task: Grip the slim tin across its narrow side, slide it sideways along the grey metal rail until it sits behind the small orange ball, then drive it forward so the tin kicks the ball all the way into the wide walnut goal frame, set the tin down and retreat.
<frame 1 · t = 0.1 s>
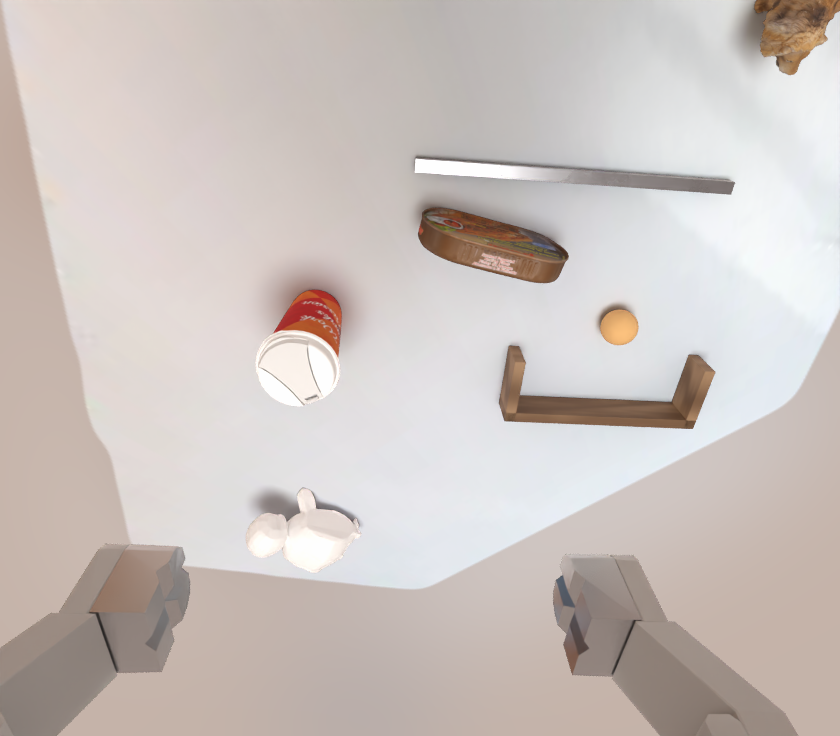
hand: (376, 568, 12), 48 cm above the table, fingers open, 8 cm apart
white animal figurine: (307, 512, 75), on the table
ball: (619, 327, 60), point 2 cm above the table
goal: (596, 379, 66), on the table
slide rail: (573, 175, 54), on the table
paper cup: (316, 311, 60), on the table
tin: (486, 233, 57), on the table
lion figurine: (798, 4, 47), on the table
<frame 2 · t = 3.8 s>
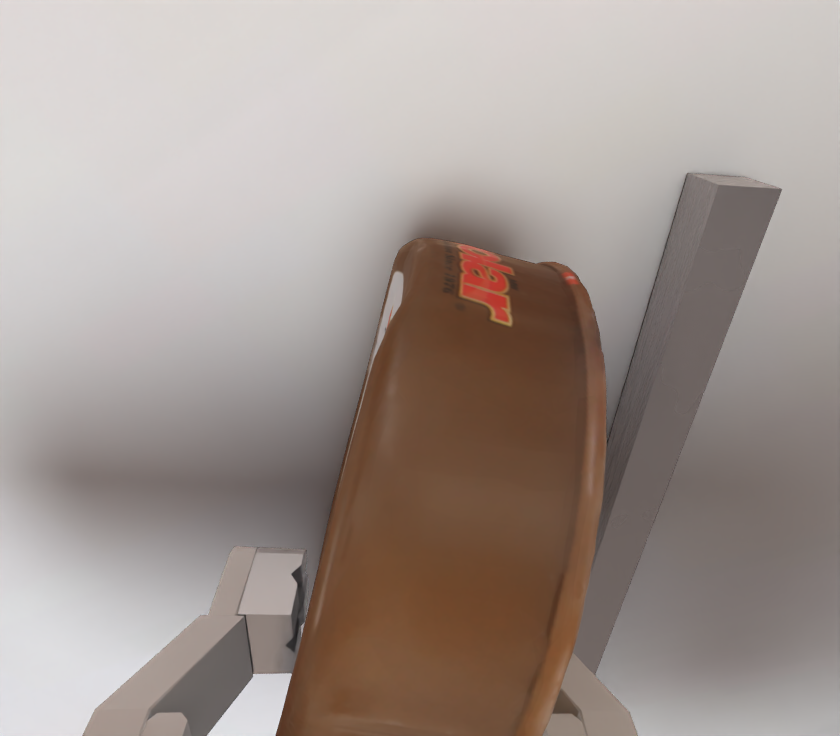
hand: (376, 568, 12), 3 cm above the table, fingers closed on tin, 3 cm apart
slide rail: (560, 656, 19), on the table
tin: (380, 467, 14), on the table, touching gripper
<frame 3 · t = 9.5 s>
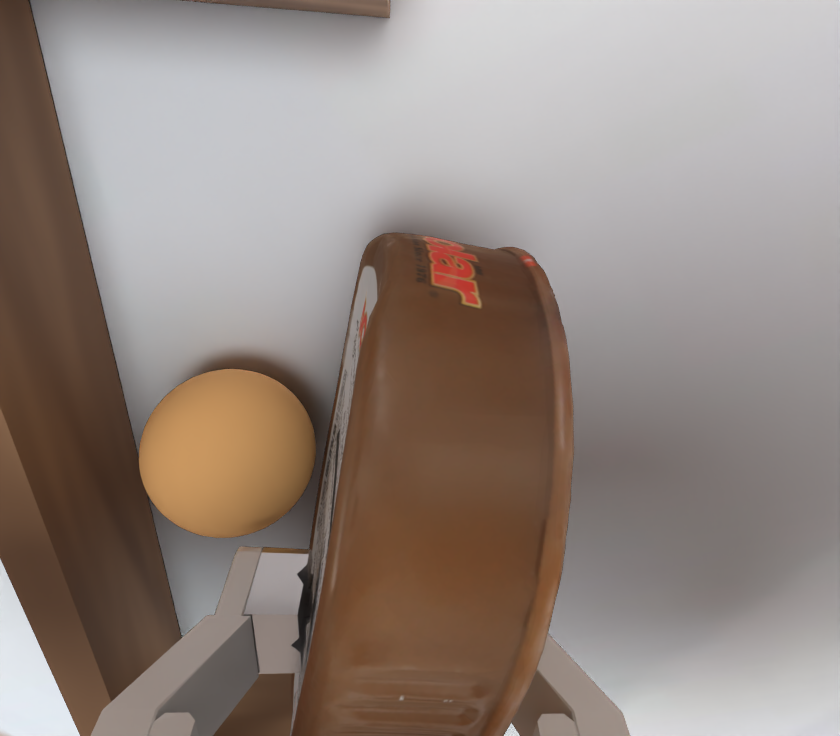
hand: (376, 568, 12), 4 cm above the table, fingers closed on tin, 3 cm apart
ball: (231, 451, 13), point 2 cm above the table, tilted 151°
goal: (234, 440, 15), on the table
tin: (360, 456, 15), point 1 cm above the table, touching gripper
when the fingers open (4 cm above the table, at t = 10.6 s): tin stays where it is, on the table.
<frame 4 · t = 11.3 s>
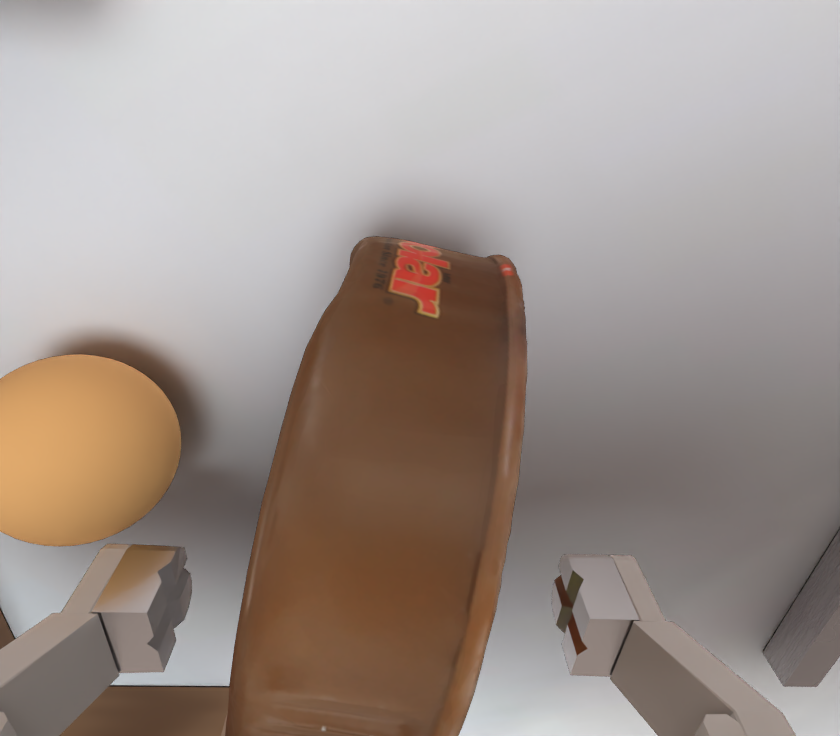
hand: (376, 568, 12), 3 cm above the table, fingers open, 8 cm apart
ball: (79, 447, 11), point 2 cm above the table, tilted 136°, touching gripper
goal: (36, 455, 14), on the table
tin: (362, 463, 15), on the table
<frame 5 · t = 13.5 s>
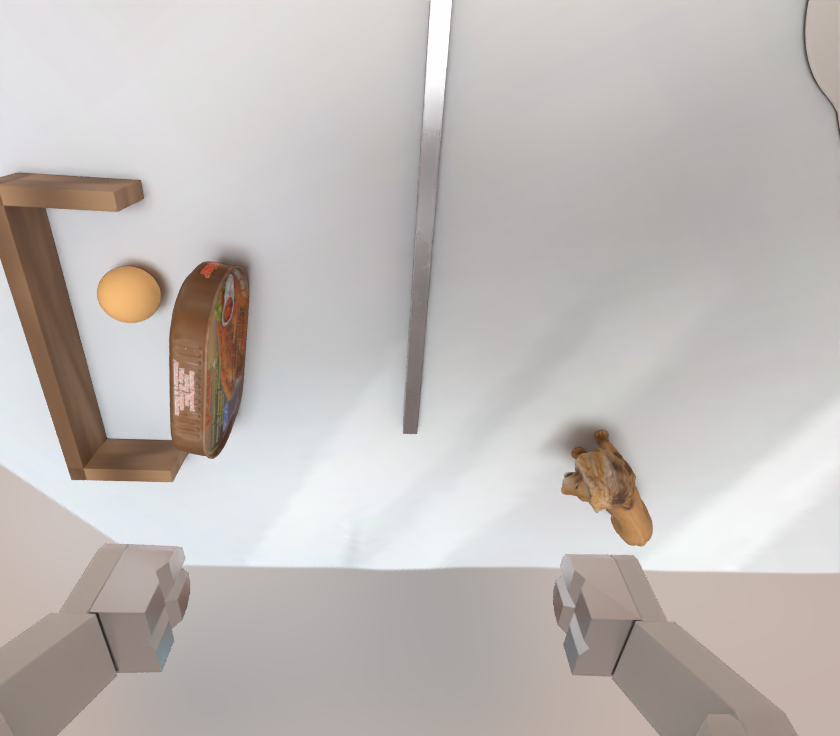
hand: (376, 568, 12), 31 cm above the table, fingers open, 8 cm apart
ball: (129, 294, 38), point 2 cm above the table, tilted 81°
goal: (115, 332, 42), on the table
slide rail: (422, 247, 39), on the table
tin: (227, 336, 43), on the table
lion figurine: (595, 464, 51), on the table
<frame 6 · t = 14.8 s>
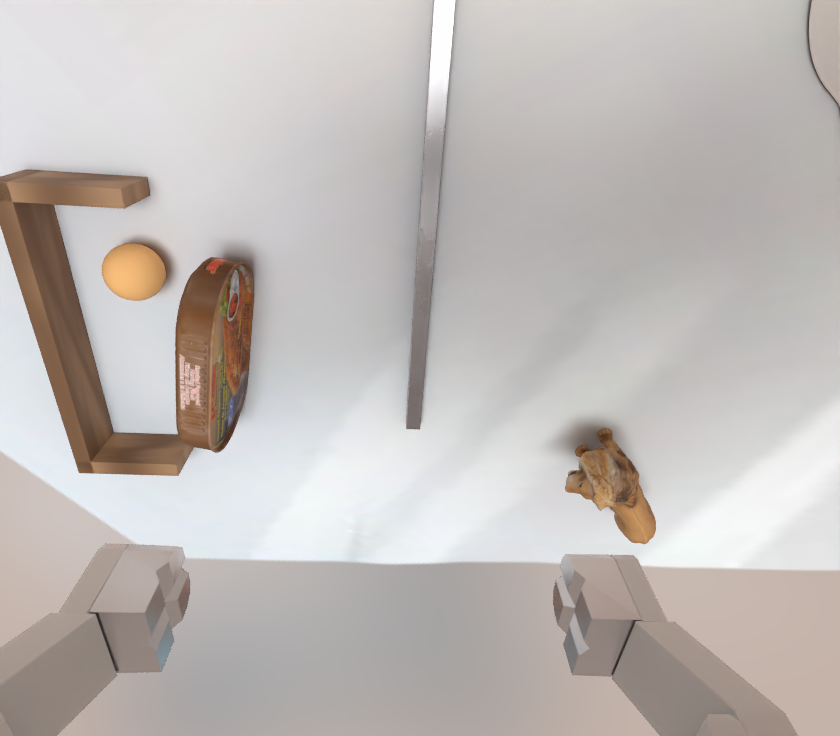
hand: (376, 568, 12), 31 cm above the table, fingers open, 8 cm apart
ball: (134, 272, 38), point 2 cm above the table, tilted 45°
goal: (121, 327, 42), on the table
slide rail: (425, 244, 40), on the table
tin: (232, 332, 43), on the table
lion figurine: (599, 462, 51), on the table
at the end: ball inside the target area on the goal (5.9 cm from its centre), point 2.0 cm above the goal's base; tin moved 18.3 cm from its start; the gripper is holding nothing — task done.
